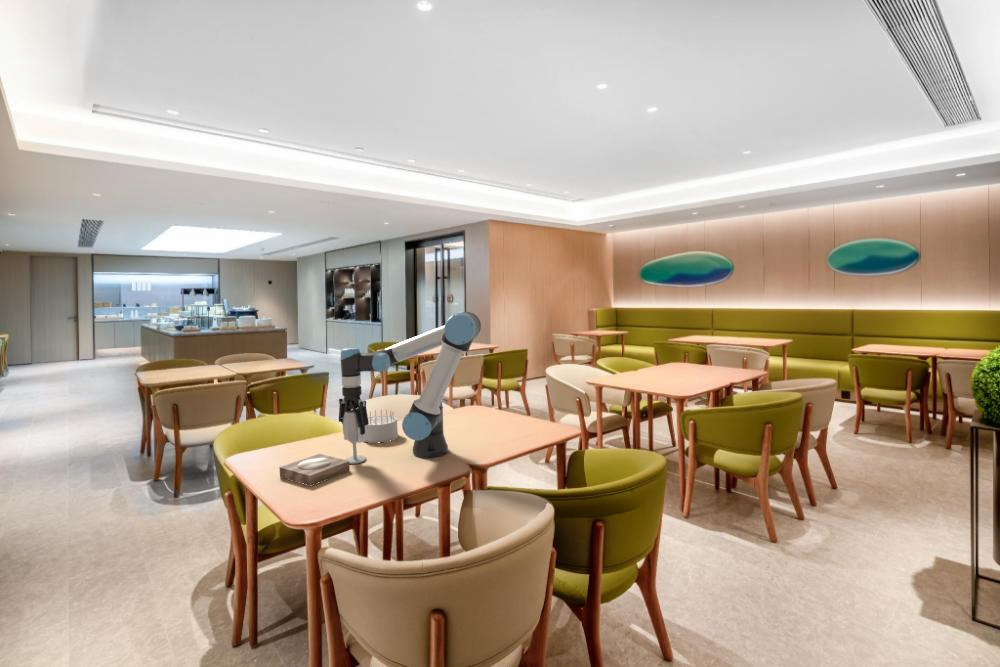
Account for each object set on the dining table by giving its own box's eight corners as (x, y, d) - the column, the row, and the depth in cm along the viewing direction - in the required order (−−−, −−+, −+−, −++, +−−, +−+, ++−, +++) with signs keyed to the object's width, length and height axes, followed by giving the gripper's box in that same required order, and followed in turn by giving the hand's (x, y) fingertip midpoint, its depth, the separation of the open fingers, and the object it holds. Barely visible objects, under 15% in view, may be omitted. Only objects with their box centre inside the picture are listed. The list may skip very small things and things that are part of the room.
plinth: (349, 470, 197) (349, 459, 197) (310, 486, 182) (309, 474, 181) (319, 463, 207) (319, 452, 206) (280, 477, 192) (279, 466, 191)
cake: (374, 431, 253) (373, 405, 251) (405, 434, 247) (404, 407, 245) (352, 441, 236) (350, 413, 235) (385, 444, 230) (384, 416, 229)
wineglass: (370, 458, 211) (368, 409, 209) (358, 465, 203) (355, 414, 201) (352, 456, 214) (350, 408, 212) (339, 463, 206) (337, 413, 204)
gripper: (376, 386, 203) (379, 441, 205) (341, 382, 214) (344, 434, 216) (362, 389, 197) (364, 446, 199) (327, 385, 208) (330, 439, 210)
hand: (354, 440), depth 207 cm, fingers closed on wineglass, 8 cm apart
